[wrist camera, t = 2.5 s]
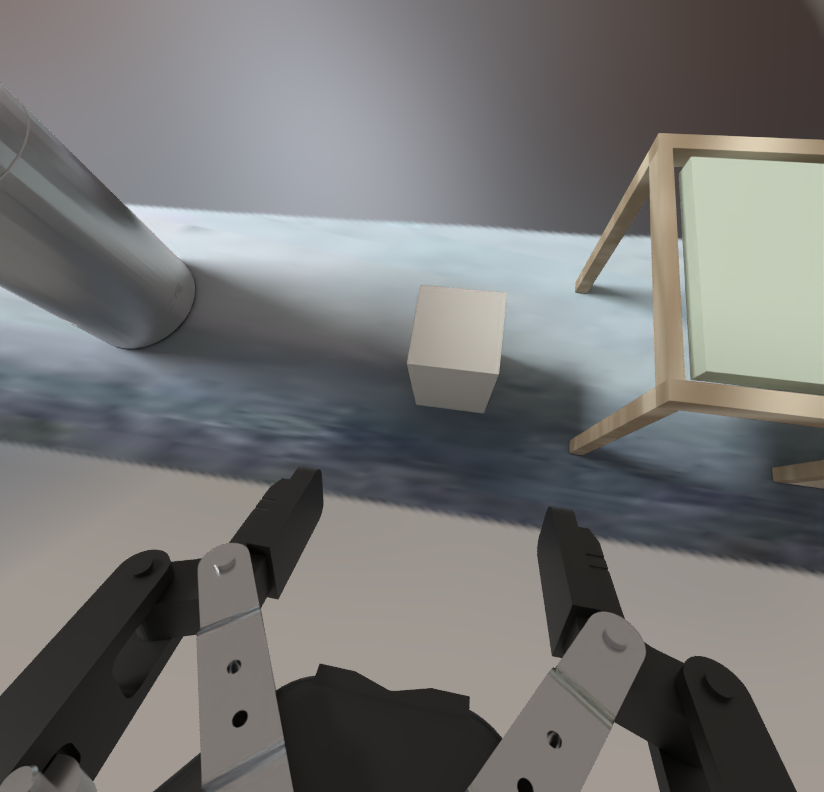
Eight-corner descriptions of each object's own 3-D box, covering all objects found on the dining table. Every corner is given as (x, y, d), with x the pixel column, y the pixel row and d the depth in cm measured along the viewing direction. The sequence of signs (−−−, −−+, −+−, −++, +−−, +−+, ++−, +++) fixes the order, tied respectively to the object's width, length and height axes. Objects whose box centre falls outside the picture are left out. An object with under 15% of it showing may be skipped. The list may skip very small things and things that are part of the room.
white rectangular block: (416, 404, 29) (406, 363, 21) (425, 343, 30) (420, 284, 23) (483, 413, 28) (498, 374, 21) (490, 351, 30) (507, 292, 22)
